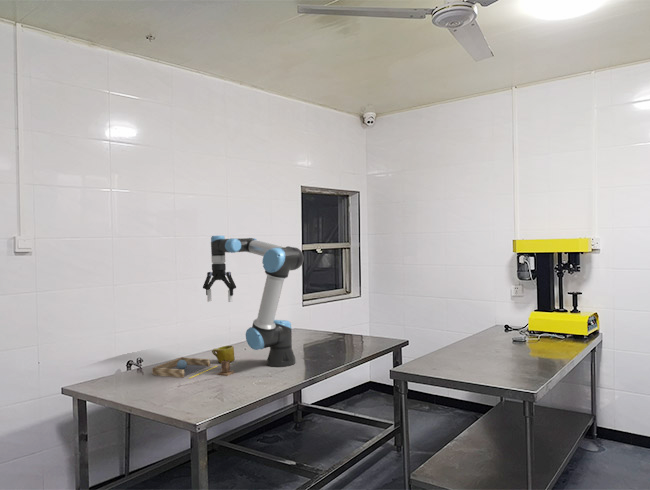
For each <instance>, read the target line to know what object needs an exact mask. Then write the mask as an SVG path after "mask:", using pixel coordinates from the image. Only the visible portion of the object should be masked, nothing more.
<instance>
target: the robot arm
mask: <svg viewBox="0 0 650 490" xmlns="http://www.w3.org/2000/svg"><path fill="white" fill-rule="evenodd" d="M210 248H211V249H210V250H211V251H210V252H211V257H210V258H211V263H212V264H211V270H212V271H209V272H207V273H206V277H205V280H204V283H203V286H202V289H203V290H204V289H205V294H206V296H207V298H206V300H207V302H212V289H211V288H212V286H213V285H214V283H215V282H216V281H222V282H223V283H224V284H225V286H226V287H227V288H228V290H227V292H228V294H227V297H228V299H227V301H228V303H230V302H233V296H234V290H236V289H237V286H236V284H235V281H234V279H233V277H232V272H231V271H227V272H226V253H231V254H235V253H243V252H245V253H249V254H254V255H258V256H262V257H263V258H262V267H263V270H264V273H265V275H266V279H265V284H264V288H263V292H262V297H261V299H260V305H259V309H258V313H257V317H256V318H255V319H254V320H252V321H253V323H252V326H250V327H248V328H247V329H246V331H245V340H246V343H247V345H248V346H249V347H250V349H252V350H254V351H258V350H263V349H267V348H269V353H268V355H267V359H266V364H267V366H270V367H277V368H280V367H289V366H290V367H291V366H293V365H295V364H296V361H297V360H296V355H295V354H294V351H293V346H292V345H293V344H292V343H293V339H292V337H293V335H292V334H293V333H292V329H293V327H292V323H291V321H289V320H287V319H286V320H284V319H275V318H276V315H277V314H276V313H277V310H278V305H279V302H280V296H281V294H282V289H283V285H284V282H285V280H286V279H287V278H288V277H289V274H290V271H296V270H298V269H299V268H301V266H303V263H304V259H305V257H304V254H303V252H302V250H301V249H299V248H298V247H293V246H282V245H281V246H280V245H277V244H272V243H268V242H264V241H260V240H257V238H253V237H246V238H234V237H233V238H231V237H230V238H225V235H211V236H210Z"/></svg>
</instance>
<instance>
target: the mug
mask: <svg viewBox="0 0 650 490" xmlns="http://www.w3.org/2000/svg"><path fill="white" fill-rule="evenodd" d="M211 353H212V354H213V356H215V357H216V359H217V360H218V363H219V364H221V361H224V360H226V361H228V360H230V363H233V362H235V349H234V346H233V345H225V346H220V347H218V348H213V349H212V350H211Z"/></svg>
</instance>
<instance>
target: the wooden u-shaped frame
mask: <svg viewBox="0 0 650 490" xmlns="http://www.w3.org/2000/svg"><path fill="white" fill-rule="evenodd" d="M179 360H185V361H186V363H187V364H191V365H204V366H207V367H210V366H211V361H210V358H196V357H195V358H194V357H183V356H181V357H179V358H176V359H173V360H170V361H167V362H165V363H162V364H159V365H157V366H154V367H152V368H151V369H152V371H151V372H152V375H153V376H161V377H171V378H172V377H173V378H184V377H186V376H184V370H182V369H170V368H173V367H175V366H177V362H178V361H179Z"/></svg>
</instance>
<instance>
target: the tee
mask: <svg viewBox="0 0 650 490" xmlns="http://www.w3.org/2000/svg"><path fill="white" fill-rule="evenodd" d="M220 365H221V367H220V370H221V371H220V372H217V376H223V377H225V376H226V377H229V376H231V375H232V374H234V373H235V370H231V367H230V365H231V362H230V360H228V361H226V360H224V361H221V363H220Z"/></svg>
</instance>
